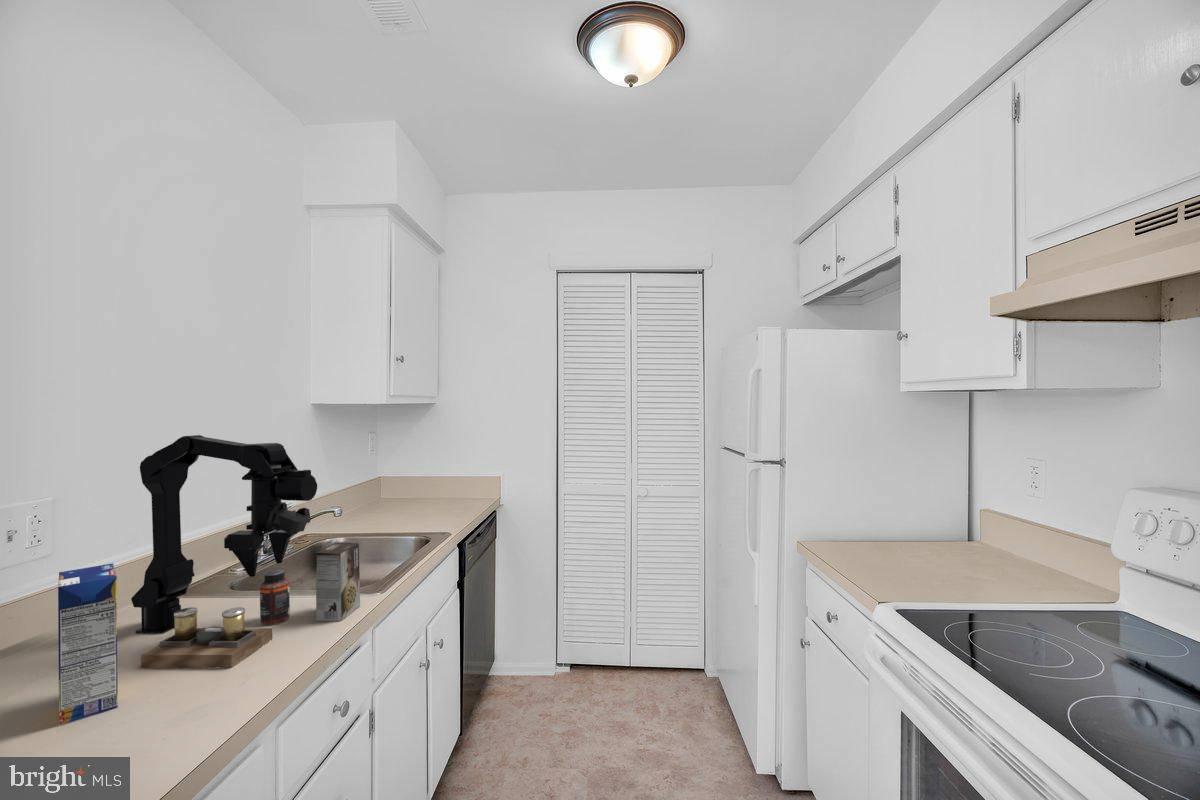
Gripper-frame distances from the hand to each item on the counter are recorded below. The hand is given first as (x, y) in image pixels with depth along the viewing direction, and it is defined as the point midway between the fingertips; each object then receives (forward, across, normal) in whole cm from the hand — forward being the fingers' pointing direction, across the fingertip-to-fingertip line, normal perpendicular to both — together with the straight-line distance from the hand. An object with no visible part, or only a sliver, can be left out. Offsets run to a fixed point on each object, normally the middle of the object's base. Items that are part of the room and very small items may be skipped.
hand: (266, 569), depth 117 cm
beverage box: (+14, -28, +12) cm, 34 cm away
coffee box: (+14, +10, -11) cm, 20 cm away
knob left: (+11, -10, +10) cm, 18 cm away
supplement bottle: (+14, +6, +2) cm, 15 cm away
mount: (+14, -10, +5) cm, 18 cm away
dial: (+11, -10, +5) cm, 16 cm away
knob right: (+11, -10, 0) cm, 15 cm away
